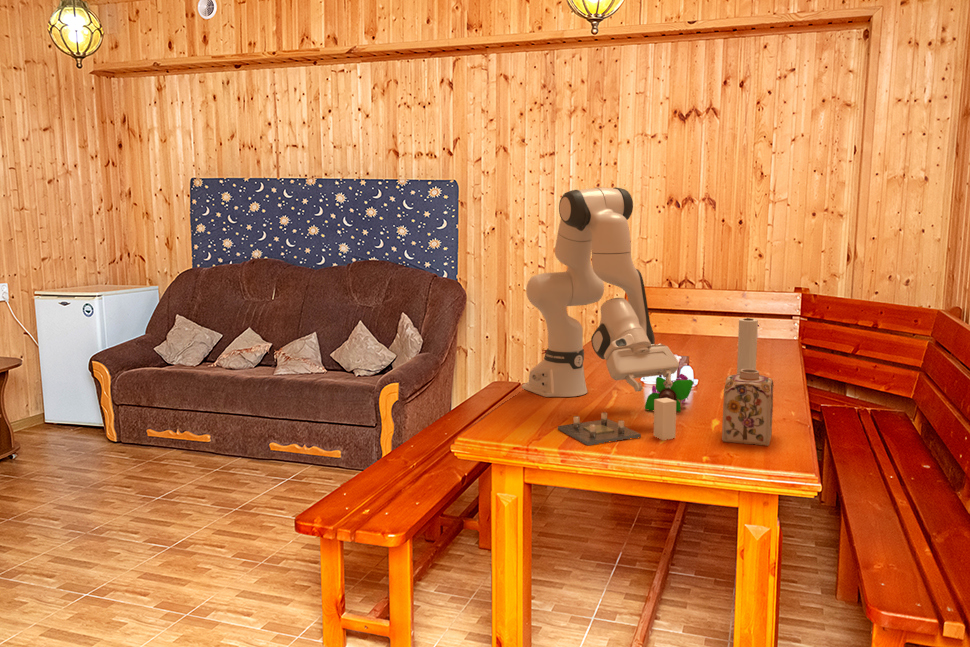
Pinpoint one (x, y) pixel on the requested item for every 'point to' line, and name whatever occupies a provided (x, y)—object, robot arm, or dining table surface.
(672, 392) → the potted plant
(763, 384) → the decorative jar
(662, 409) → the post
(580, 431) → the grey square base plate
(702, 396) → the dining table surface
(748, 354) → the tan cylinder
